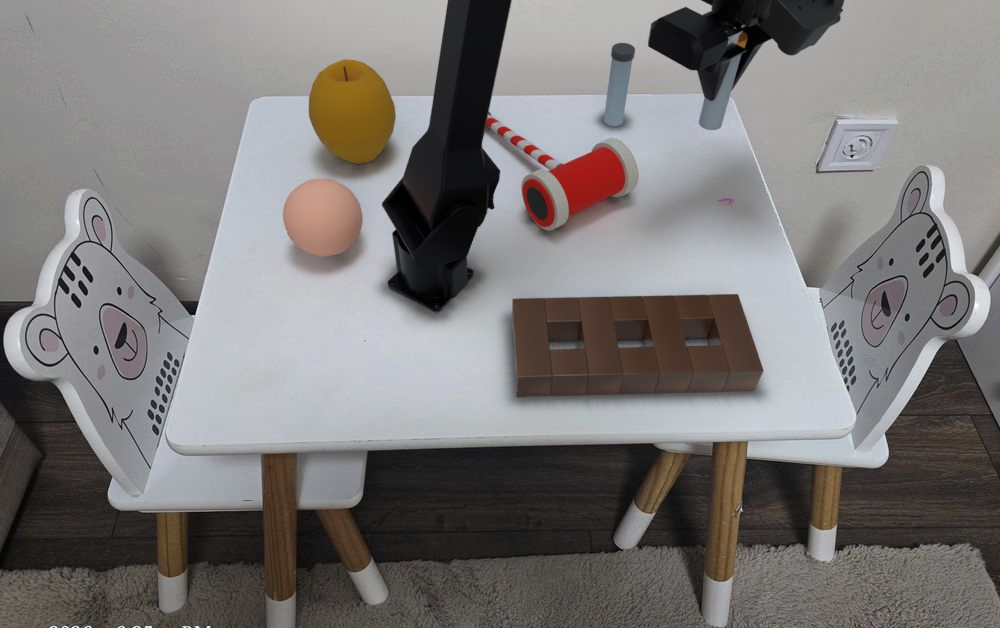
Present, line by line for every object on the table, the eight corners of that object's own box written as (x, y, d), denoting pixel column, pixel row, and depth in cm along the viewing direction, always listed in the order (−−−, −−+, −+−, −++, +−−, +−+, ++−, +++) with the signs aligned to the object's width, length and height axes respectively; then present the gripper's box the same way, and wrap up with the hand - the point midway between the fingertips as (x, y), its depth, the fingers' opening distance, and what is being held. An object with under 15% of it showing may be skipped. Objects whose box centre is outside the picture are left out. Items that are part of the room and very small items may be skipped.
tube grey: (598, 122, 95) (607, 49, 88) (608, 112, 97) (618, 40, 89) (617, 130, 94) (628, 56, 87) (627, 119, 96) (639, 46, 88)
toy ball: (341, 211, 84) (330, 153, 78) (381, 248, 80) (373, 190, 74) (278, 243, 80) (261, 185, 74) (316, 284, 76) (301, 226, 71)
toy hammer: (439, 137, 93) (436, 92, 88) (516, 106, 98) (517, 61, 93) (553, 242, 81) (557, 196, 76) (635, 202, 85) (644, 156, 81)
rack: (516, 396, 68) (517, 376, 65) (511, 319, 74) (512, 298, 71) (755, 390, 68) (764, 370, 66) (730, 314, 74) (738, 293, 72)
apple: (321, 131, 94) (304, 43, 85) (400, 128, 94) (390, 40, 85) (315, 181, 87) (295, 91, 78) (399, 177, 88) (389, 88, 79)
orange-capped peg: (693, 125, 79) (714, 36, 72) (703, 113, 81) (725, 25, 73) (717, 134, 78) (741, 45, 71) (726, 121, 80) (752, 33, 72)
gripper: (767, 2, 57) (719, 168, 69) (902, -60, 65) (838, 98, 77) (659, -49, 63) (631, 113, 75) (795, -100, 71) (751, 53, 83)
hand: (717, 94), depth 77 cm, fingers closed on orange-capped peg, 2 cm apart
